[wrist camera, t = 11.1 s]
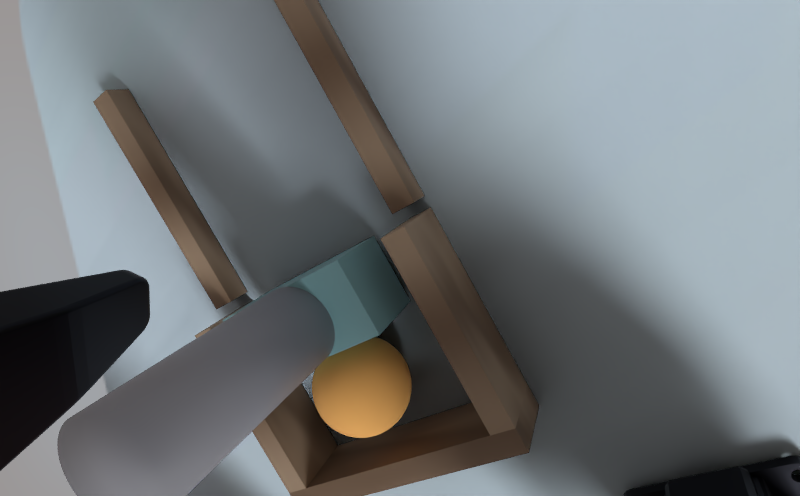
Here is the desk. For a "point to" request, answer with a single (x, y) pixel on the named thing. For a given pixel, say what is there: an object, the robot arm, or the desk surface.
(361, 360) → the ball
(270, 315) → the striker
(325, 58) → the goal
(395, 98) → the desk surface
